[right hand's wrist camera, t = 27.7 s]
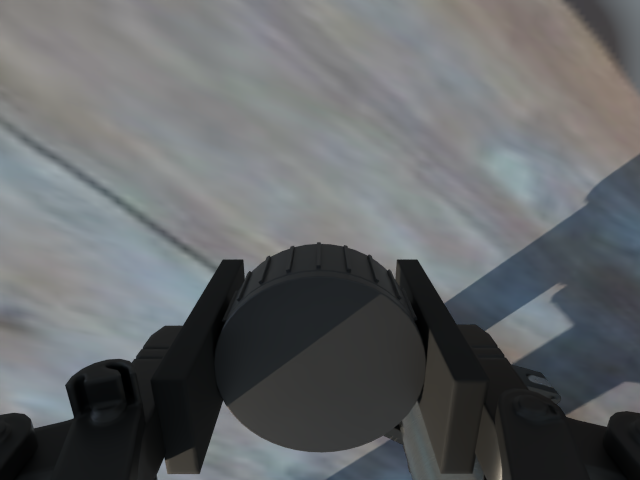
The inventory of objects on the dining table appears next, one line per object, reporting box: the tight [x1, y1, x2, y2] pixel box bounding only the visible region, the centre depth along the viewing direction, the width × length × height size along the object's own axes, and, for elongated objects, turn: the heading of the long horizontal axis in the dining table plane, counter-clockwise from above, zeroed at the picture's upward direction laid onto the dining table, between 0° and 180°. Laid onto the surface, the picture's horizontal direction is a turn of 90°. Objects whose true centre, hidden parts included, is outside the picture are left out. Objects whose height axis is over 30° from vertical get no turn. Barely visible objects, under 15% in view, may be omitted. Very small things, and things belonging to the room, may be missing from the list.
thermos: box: [399, 401, 484, 480], centre depth 29 cm, size 5×5×17 cm
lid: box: [214, 242, 427, 452], centre depth 11 cm, size 6×6×2 cm
